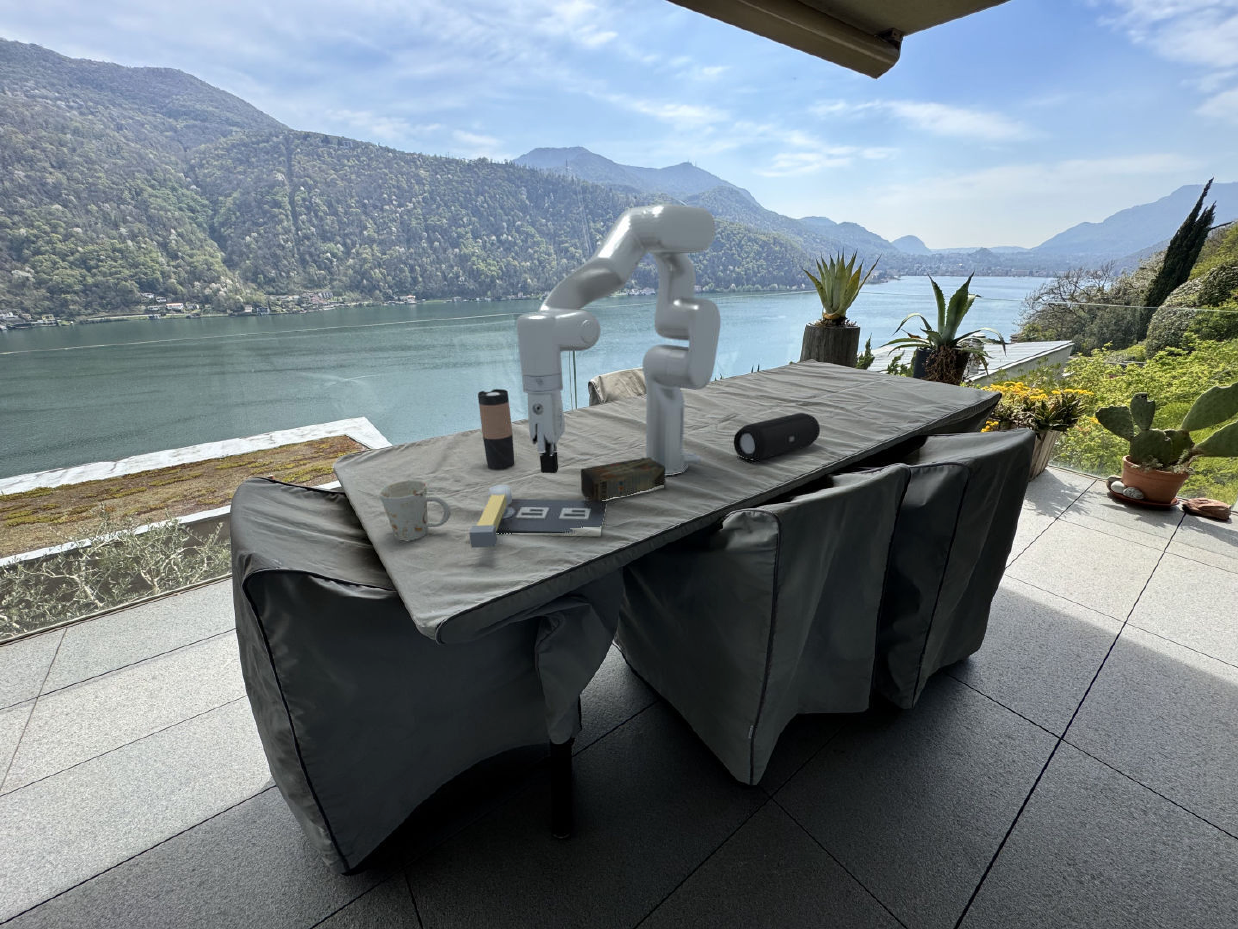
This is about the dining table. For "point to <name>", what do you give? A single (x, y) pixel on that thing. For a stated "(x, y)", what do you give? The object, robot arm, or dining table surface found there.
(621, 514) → the dining table surface
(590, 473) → the beverage carton
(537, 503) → the chassis
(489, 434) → the travel mug
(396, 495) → the mug
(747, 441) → the portable speaker
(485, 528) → the swing arm
